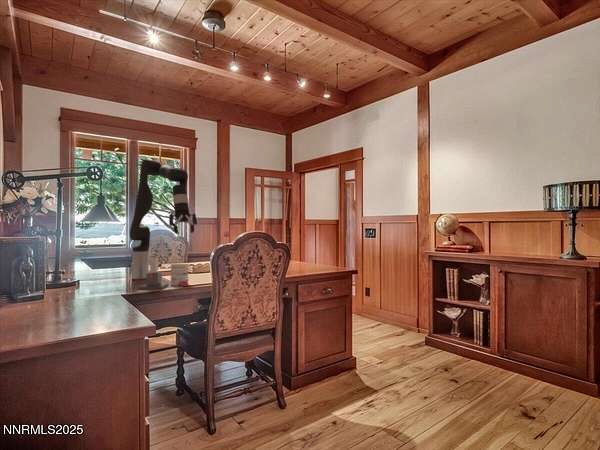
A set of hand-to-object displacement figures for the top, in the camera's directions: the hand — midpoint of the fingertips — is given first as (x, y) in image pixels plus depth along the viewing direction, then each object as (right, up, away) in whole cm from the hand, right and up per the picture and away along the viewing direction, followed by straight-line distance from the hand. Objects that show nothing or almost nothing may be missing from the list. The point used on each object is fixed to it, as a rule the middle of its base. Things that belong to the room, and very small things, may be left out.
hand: (184, 232), depth 185 cm
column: (-17, -28, +1) cm, 33 cm away
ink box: (-7, -30, +11) cm, 32 cm away
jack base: (-17, -30, +1) cm, 34 cm away
